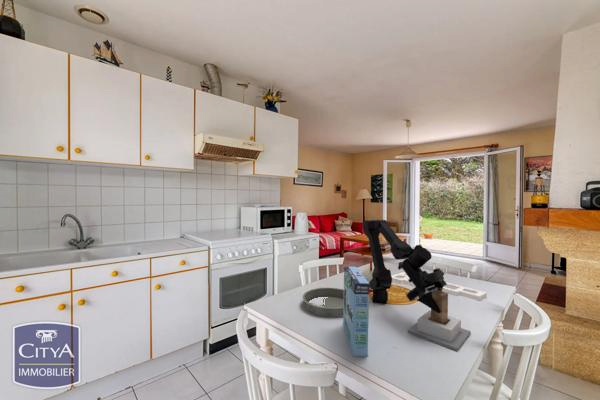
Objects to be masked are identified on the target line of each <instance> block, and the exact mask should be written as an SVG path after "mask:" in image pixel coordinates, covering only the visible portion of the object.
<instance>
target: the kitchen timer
mask: <svg viewBox="0 0 600 400" xmlns="http://www.w3.org/2000/svg"><path fill="white" fill-rule="evenodd" d="M373 270H374V266H373V259H372V260H371V259H370V260H369V266H367V267H366V268H364V270H362V272H361V274H362V275H363V276H364V277H365V279H366V280H367V281H368V282H370V281H371V279H372V273H373ZM369 292H373V289H371V288H370V287H369Z"/></svg>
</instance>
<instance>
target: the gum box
mask: <svg viewBox="0 0 600 400" xmlns="http://www.w3.org/2000/svg"><path fill="white" fill-rule="evenodd" d="M343 269H344V270H343V290H344V302H343V316H342V326H343V330H344V332H345V334H346V335H345V336H346V338H347V341H348V345H349V347H350V352H351V353H352V354H351V355H352V357H357V358H358V357H360V358H362V357H364V358H365V357H366V358H367V357H369V317H370V315H369V314H370V313H369V309H370V306H369V305H370V293H369V282H368V281H367V280H366V279H365V277H364V276H363V275H362V274H361V273H362V272H361V271H360V269H359V268H358V267H357V266H344V267H343Z"/></svg>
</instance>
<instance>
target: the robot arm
mask: <svg viewBox="0 0 600 400" xmlns="http://www.w3.org/2000/svg"><path fill="white" fill-rule="evenodd" d="M361 226H362V229H363V233H364V235H365V236H366V237H367V238H368V243H369V247H370V252H371V253H370V254H371V257H372V265H373V267H374V270H373V273H372V279H371V281H370V282H369V287H370V288H371V289H373V293H372V299H371V301H372V304H379V305H380V304H381V305H382V304H383V305H387V304H388V301H389V291H387V290H390V289H391V287H392V283H393V281H392V273H391V270H390V269H387V267H386V266H385V262H384V261H385V260H384V256H383V251H382V245H381V241H380V238H379V237H380V234H381V235H382V236H383V238H384V239H385V240H386V242H387V244H388V245H389V246H390V253H391V255H392V256H393V258H394V259H395V260H400V262H398V267H397V269H398V270H403V271H404V272H405V273H406V274H407V275H408V277H409V278H410V279H409V280H408V281H409V282H413V284H414V285H415V287H413V288H412V289H411V290H410V291H408V292H407V293H406V297H407V299H408V301H409V302H412V301H415V300H416V301H417V302H419V303H421V304H423V305H425V306H426V307H428V308H430V310H431V309H432V310H434V311H436V312H437V313H441V311H440V309H439V307H438V306H437V304H436V302H435V301H434V299H433V298H432V291H435V290H439V291H442V289H443V287H444V286H445V285H447V283H448V282H447V281H445V278H444V276H445V272H443V270H442V269H441V268H439V267H437V268H434V269H433V271H432V272H427V271H426V270H423V269H422V267H423V266H425V265H426V264H427V263H428V262H429V261H430V260H431V259H432V253H431V252H430V250H428V249H427V248H425V247H423V246H422V244H416V245H415V246H414V247H413V248H412V246H410V244H408V243H407V242H406V241H404V240H402V239H400V237H399V236H398V235H397V234H396V233H395V231H394V230H393V229H392V227H391V226H390V225H389V224H388V221H387V220H385V219H371V220H370V219H365V220H363V222H362V224H361ZM401 260H403V261H401ZM446 282H447V283H446ZM416 298H417V299H416Z"/></svg>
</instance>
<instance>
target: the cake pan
mask: <svg viewBox="0 0 600 400" xmlns="http://www.w3.org/2000/svg"><path fill="white" fill-rule="evenodd" d="M318 297H328V298H326V299H325V298H324V299H325V305H324V304H323V305H322V306H321V305H317V304H313V303H309V301H310V300H312V299H314V298H318ZM324 299H323V303H324ZM302 300H303V302H304V303H305V306H306V308H307V310H309V311H310V313H311V312H312V313H313V314H315V315H318V316H325V317H343V302H344V288H343V289H342V288H337V287H318V288H313V289H310V290H307V291H305V292H304V293H303V294H302Z"/></svg>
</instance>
